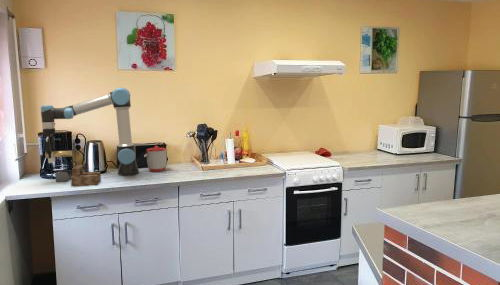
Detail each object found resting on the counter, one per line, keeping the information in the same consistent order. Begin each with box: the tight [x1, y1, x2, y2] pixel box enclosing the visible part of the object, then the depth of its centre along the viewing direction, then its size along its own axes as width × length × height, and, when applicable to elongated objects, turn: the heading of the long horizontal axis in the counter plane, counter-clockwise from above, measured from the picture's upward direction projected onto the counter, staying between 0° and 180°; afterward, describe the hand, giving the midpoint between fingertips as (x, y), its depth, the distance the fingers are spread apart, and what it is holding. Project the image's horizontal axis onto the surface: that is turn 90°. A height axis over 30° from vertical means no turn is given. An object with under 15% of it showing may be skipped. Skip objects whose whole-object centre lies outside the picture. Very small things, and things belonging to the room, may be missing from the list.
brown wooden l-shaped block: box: [70, 164, 102, 187], centre depth 251 cm, size 16×12×12 cm
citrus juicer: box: [143, 145, 168, 173], centre depth 290 cm, size 16×17×20 cm
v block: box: [54, 169, 72, 183], centre depth 260 cm, size 8×8×6 cm
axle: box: [44, 150, 73, 159], centre depth 253 cm, size 16×4×4 cm, turn 102°
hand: (51, 162), depth 253 cm, fingers closed on axle, 4 cm apart
